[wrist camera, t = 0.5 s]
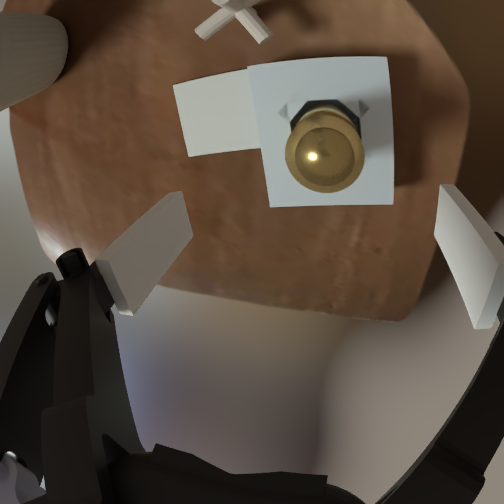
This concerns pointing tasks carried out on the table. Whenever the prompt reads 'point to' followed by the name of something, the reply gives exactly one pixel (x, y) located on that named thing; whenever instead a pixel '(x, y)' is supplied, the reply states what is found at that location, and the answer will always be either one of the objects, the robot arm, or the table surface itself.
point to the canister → (29, 55)
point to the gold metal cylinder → (325, 149)
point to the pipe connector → (237, 6)
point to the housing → (332, 91)
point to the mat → (217, 113)
